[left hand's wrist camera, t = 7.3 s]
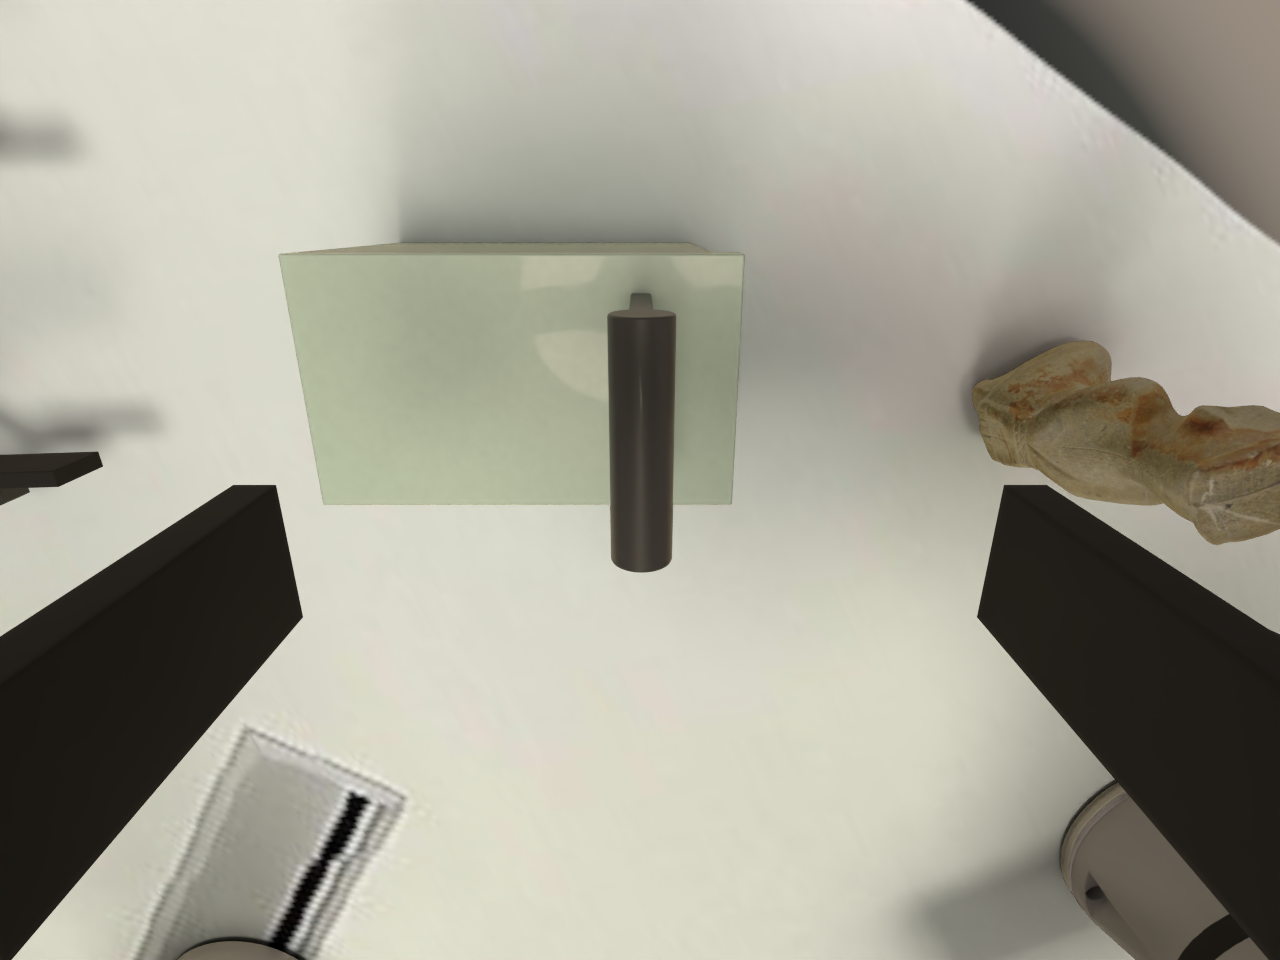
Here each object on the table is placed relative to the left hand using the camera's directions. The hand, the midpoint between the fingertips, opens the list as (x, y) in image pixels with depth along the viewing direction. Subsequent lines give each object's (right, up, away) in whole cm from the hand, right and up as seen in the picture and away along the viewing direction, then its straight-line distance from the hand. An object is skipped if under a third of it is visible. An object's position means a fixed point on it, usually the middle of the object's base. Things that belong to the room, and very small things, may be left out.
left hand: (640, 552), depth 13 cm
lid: (-4, +5, +13) cm, 15 cm away
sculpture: (+21, +6, +25) cm, 33 cm away
